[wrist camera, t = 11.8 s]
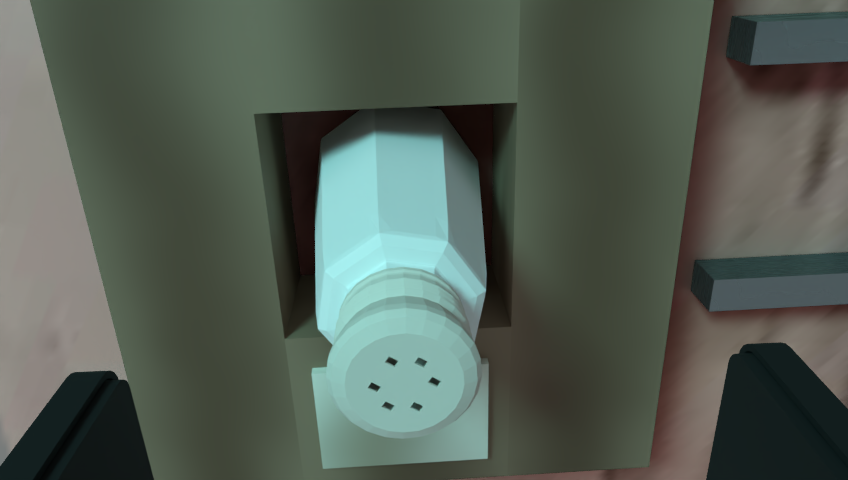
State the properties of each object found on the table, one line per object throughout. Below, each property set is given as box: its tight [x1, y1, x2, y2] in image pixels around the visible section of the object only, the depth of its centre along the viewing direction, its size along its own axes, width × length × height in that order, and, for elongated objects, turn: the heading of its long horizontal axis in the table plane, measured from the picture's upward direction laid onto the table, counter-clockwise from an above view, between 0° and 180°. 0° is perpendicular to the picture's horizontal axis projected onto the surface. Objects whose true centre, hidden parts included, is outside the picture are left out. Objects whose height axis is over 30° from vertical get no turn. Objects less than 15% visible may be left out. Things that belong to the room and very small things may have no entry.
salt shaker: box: [315, 107, 487, 439], centre depth 17 cm, size 5×5×11 cm
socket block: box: [30, 0, 714, 480], centre depth 20 cm, size 16×18×4 cm
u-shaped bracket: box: [691, 12, 848, 312], centre depth 22 cm, size 8×9×2 cm
